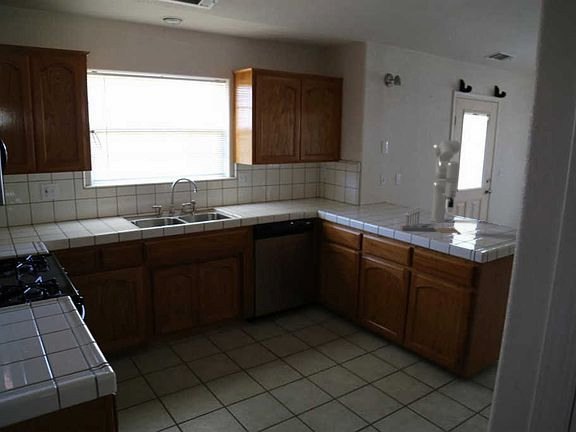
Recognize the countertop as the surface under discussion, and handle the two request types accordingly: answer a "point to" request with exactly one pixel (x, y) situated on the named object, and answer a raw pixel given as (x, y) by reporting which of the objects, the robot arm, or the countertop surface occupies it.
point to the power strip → (417, 228)
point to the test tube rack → (412, 216)
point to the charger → (448, 209)
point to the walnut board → (448, 230)
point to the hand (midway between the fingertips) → (449, 206)
